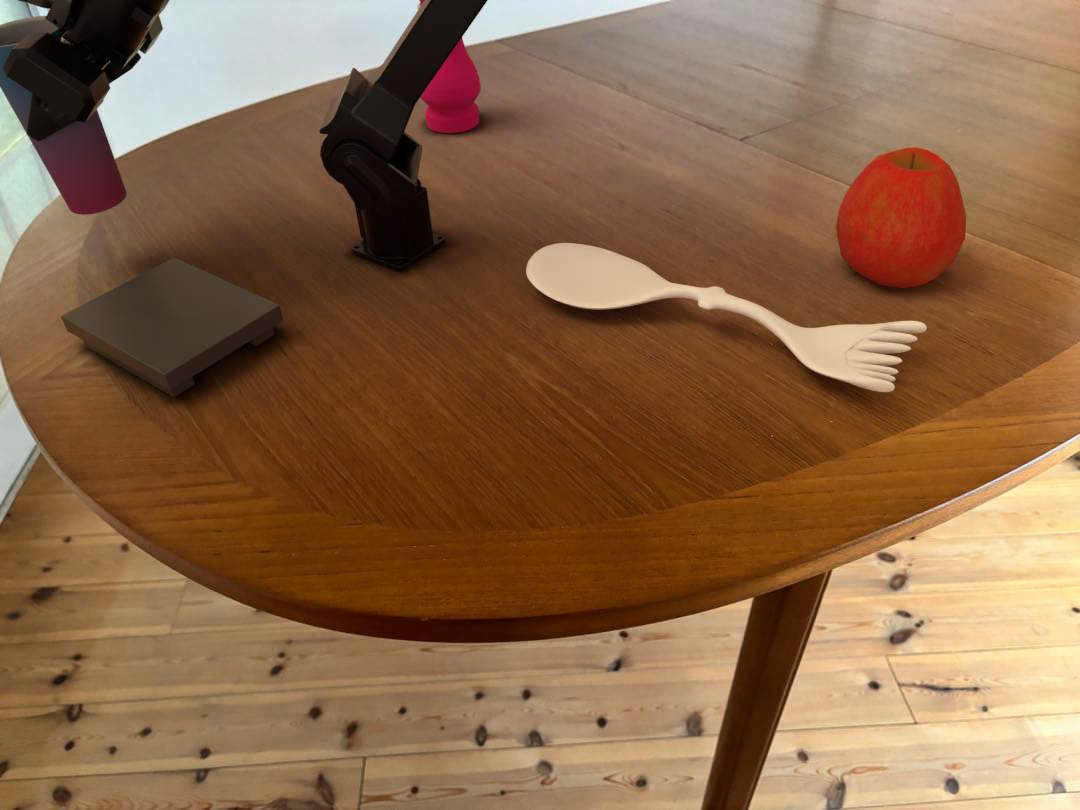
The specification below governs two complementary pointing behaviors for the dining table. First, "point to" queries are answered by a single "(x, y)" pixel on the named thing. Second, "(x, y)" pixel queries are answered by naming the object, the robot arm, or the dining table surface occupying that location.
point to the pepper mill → (453, 93)
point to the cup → (65, 136)
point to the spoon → (626, 282)
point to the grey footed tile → (172, 323)
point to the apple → (902, 219)
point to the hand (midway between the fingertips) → (47, 121)
